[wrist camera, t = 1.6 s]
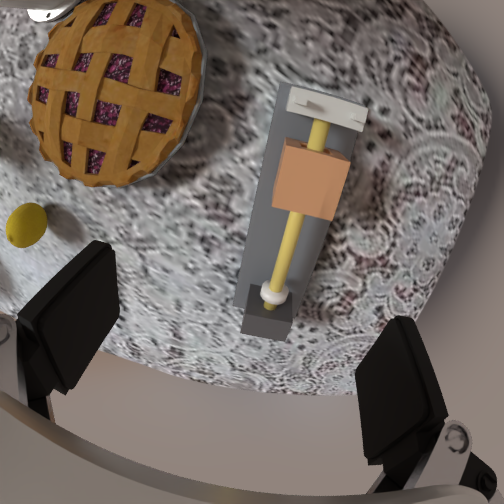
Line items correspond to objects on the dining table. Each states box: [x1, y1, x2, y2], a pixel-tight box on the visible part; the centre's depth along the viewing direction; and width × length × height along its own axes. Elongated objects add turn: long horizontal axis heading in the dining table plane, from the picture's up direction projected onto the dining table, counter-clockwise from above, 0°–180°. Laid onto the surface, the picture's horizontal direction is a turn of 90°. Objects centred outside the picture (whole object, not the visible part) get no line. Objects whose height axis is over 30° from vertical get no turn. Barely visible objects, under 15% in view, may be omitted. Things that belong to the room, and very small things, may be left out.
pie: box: [27, 0, 207, 188], centre depth 22 cm, size 22×22×5 cm
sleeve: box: [272, 137, 351, 221], centre depth 23 cm, size 5×5×5 cm
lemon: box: [6, 203, 47, 248], centre depth 29 cm, size 6×6×8 cm
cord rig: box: [233, 82, 368, 342], centre depth 26 cm, size 26×8×7 cm, turn 169°
